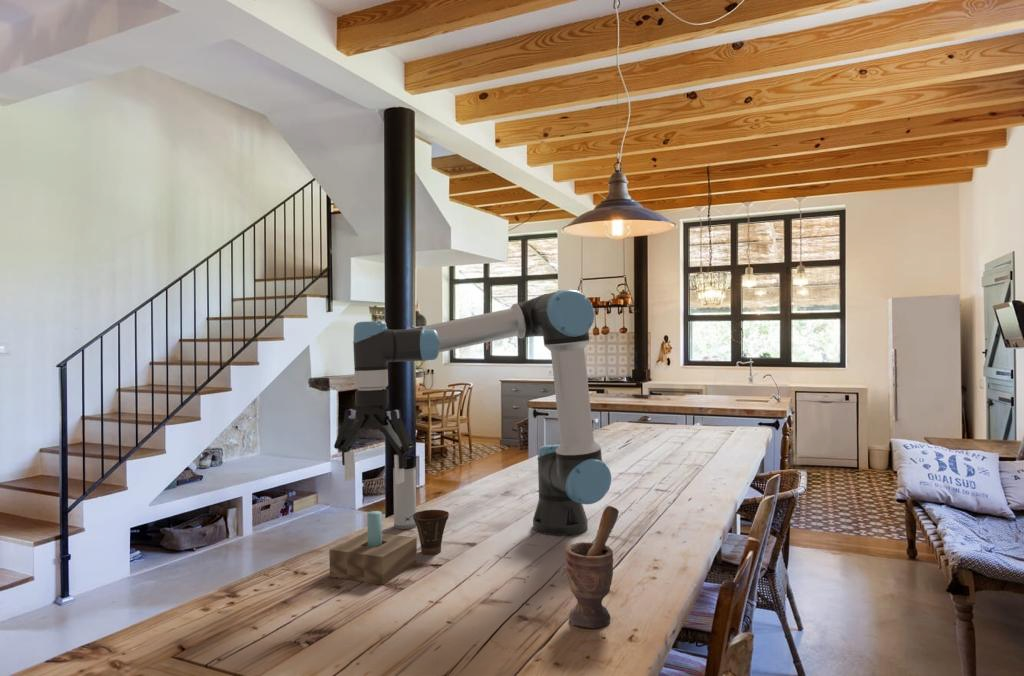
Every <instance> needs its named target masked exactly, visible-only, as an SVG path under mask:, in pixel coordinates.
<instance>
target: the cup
mask: <svg viewBox="0 0 1024 676" xmlns="http://www.w3.org/2000/svg"><path fill="white" fill-rule="evenodd" d="M449 515H450V512H448V511H447V510H445V509H444V510H443V509H425V510H421V511H416V513H415V514H413V519H414V521H415V524H416V526H415V527H416V530H417V532H418V537H419V543H420V553H422V554H423V555H436V554H439V553H441V552H442V542H443V536H444V531H445V528H446V524H447V521H448V519H449V517H450V516H449Z"/></svg>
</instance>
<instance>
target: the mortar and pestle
mask: <svg viewBox="0 0 1024 676" xmlns="http://www.w3.org/2000/svg"><path fill="white" fill-rule="evenodd" d="M618 517H619V510H618V508H616V507H614V506H611V505H606V507H605V508H604V509H603V512H602V514H601V517H600V521H599V526H598V530H597V532H596V535H595V539H594V542H576V543H572V544H569V545H567V547H566V549H565V553H566V557H565V558H566V578H567V582H568V584H569V588H570V591H571V593H572V595H574V597H575V599H576V601H577V602H576V605H574V606H573V607H572V608H571V609H570V612H569V616H568V617H569V621H570V623H571V625H572V626H576V627H580V628H581V627H582V628H586V629H601V628H603V627H605V626H607V625H608V624H609V623H610V621H611V614H610V612H609V610H608V609H607V608H606V607H605V606H604V605H603V600H604V598H605V597H607V595H608V594H609V593H610V590H611V586H612V582H613V577H614V575H613V574H614V557H613V556H614V553H613V552H614V551H613V549H612V548H611V547H609V546H608V545H606V543H607V541H608V540H609V536H610V534H611V533H612V531H613V529H614V527H615V525H616V523H617V520H618Z"/></svg>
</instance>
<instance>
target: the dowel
mask: <svg viewBox="0 0 1024 676" xmlns="http://www.w3.org/2000/svg"><path fill="white" fill-rule="evenodd" d="M366 517H367V522H366V523H367V532H368V546H369V547H376V548H377V547H379V546H381V545H382V534H383V531H382V530H383V527H382V526H383V519H382V518H383V513H382V511H380V510H371V511H368V512H367V516H366Z"/></svg>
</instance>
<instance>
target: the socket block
mask: <svg viewBox="0 0 1024 676" xmlns="http://www.w3.org/2000/svg"><path fill="white" fill-rule="evenodd" d="M417 541H418V540H417V537H415V536H414V537H413V536H407V535H398V534H397V535H396V534H389V533H382V545H381V546H379V547H377V548H376V547H369V546H368V531H365V532H363V533H361V534H359V535H357V536H355V537H352V538H351V539H349V540H346V541H345V542H342V543H340V544H339V545H336V546H334V547H332V548H330V549H329V550H328V552H329V556H328V557H329V577H331V578H336V577H338V578H337V579H342V578H346V579H345V580H349V579H352V580H351V581H355V580H359V581H358V582H361V581H363V582H362V583H368V582H369V584H370V583H371V584H373V585H374V584H375V585H381V586H383V585H385V584H386V583H388V582H390V581H391V580H394V579H395V578H397V576H399V575H400V574H402V573H403V572H405V571H407V570H409V569H410V568H411V567H414V566H415V565H416V564H418V551H417V549H418V546H417V544H418V542H417Z"/></svg>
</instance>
